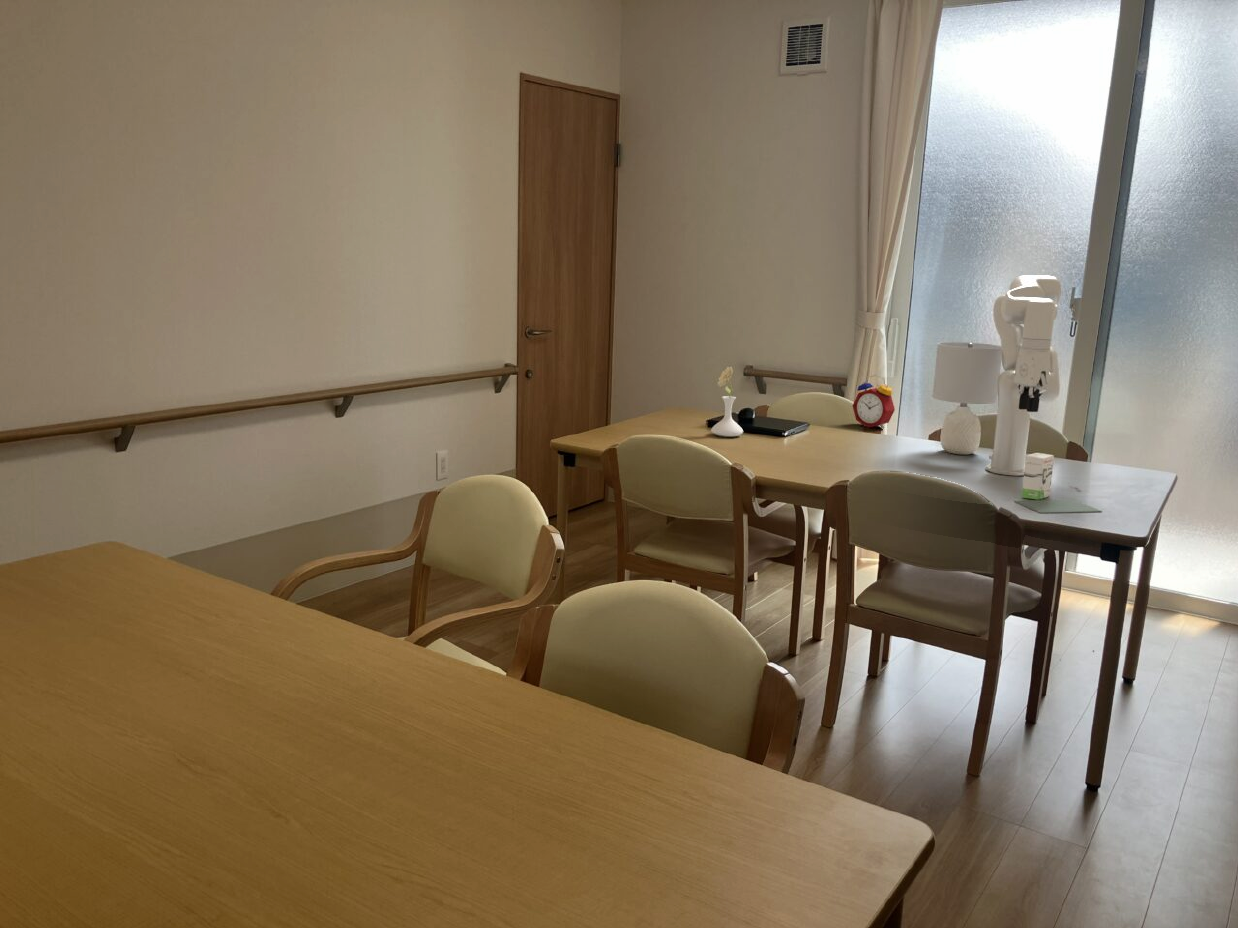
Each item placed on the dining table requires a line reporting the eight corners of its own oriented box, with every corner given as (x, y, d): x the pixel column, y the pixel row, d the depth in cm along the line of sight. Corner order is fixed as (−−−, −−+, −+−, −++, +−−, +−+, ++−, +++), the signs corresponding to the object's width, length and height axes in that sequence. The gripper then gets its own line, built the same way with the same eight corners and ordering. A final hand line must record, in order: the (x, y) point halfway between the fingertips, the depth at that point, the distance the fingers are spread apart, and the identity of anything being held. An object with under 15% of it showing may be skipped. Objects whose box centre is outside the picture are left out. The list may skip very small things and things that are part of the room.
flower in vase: (711, 431, 359) (715, 362, 353) (743, 433, 357) (747, 364, 352) (709, 438, 346) (713, 367, 340) (742, 440, 344) (746, 368, 339)
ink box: (1038, 500, 272) (1043, 458, 269) (1020, 497, 275) (1024, 455, 273) (1050, 496, 278) (1054, 454, 276) (1032, 493, 281) (1036, 452, 279)
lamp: (1003, 457, 329) (1016, 346, 321) (953, 460, 322) (965, 346, 314) (963, 445, 347) (974, 340, 339) (914, 447, 340) (925, 340, 332)
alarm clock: (850, 424, 381) (854, 373, 377) (863, 422, 387) (867, 371, 383) (884, 430, 371) (888, 377, 366) (896, 428, 377) (901, 376, 372)
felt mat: (1014, 501, 271) (1014, 500, 271) (1073, 500, 274) (1073, 499, 274) (1039, 513, 259) (1039, 512, 259) (1101, 512, 263) (1101, 510, 263)
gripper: (1007, 342, 283) (999, 405, 287) (1041, 348, 267) (1032, 415, 271) (1031, 342, 284) (1023, 405, 288) (1066, 348, 268) (1057, 415, 272)
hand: (1028, 409), depth 279 cm, fingers open, 3 cm apart
